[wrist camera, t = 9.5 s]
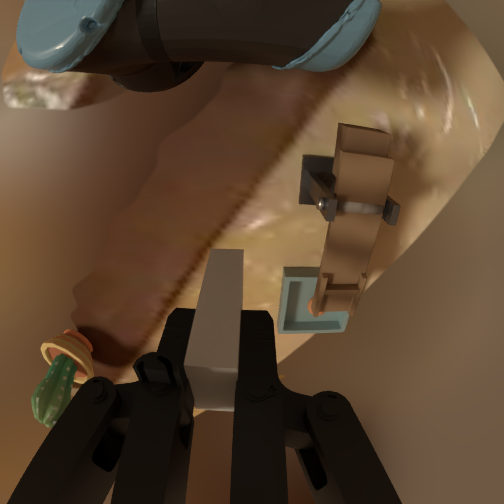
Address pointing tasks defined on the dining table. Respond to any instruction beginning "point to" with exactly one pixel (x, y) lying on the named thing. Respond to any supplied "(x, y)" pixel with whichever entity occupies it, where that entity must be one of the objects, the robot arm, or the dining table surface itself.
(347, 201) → the lever
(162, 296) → the dining table surface
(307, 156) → the stand
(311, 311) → the ball
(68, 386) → the potted cactus
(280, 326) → the dish
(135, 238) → the dining table surface
